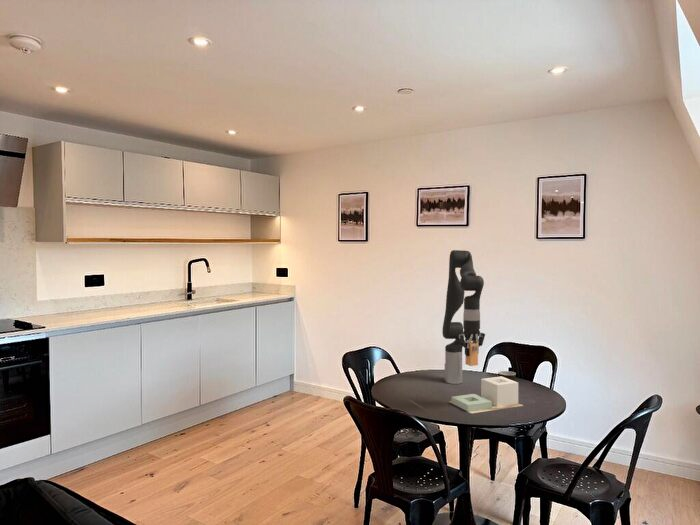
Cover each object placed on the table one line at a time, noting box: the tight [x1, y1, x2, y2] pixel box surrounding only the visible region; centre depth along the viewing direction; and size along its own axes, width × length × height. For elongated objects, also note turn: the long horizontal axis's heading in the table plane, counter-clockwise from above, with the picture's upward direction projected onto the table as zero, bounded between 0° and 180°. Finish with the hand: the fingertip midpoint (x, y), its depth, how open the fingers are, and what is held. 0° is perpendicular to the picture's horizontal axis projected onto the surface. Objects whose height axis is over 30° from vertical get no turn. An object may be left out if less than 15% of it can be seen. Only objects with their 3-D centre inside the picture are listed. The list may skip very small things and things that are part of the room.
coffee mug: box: [493, 370, 517, 382], centre depth 247 cm, size 12×9×10 cm
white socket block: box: [480, 376, 519, 407], centre depth 229 cm, size 12×12×10 cm
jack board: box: [448, 400, 524, 414], centre depth 226 cm, size 18×29×1 cm, turn 112°
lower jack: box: [451, 393, 492, 413], centre depth 223 cm, size 13×13×3 cm
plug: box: [464, 341, 479, 367], centre depth 222 cm, size 5×4×10 cm
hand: (471, 355), depth 222 cm, fingers closed on plug, 4 cm apart
